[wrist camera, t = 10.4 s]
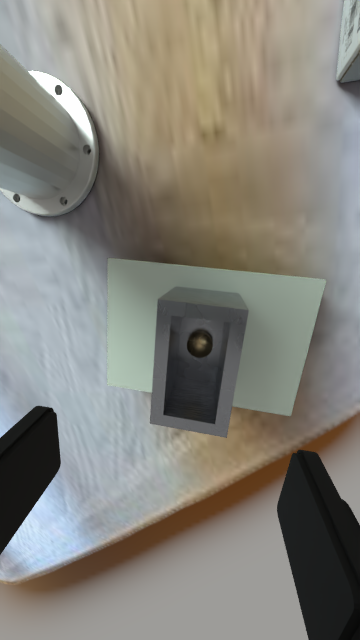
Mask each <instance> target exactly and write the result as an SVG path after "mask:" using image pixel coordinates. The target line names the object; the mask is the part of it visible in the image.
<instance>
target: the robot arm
mask: <svg viewBox="0 0 360 640" xmlns="http://www.w3.org/2000/svg"><path fill="white" fill-rule="evenodd" d="M90 152H91V153H90ZM98 164H99V147H98V139H97V134H96V131H95V127H94V123H93V121H92V119H91V117H90V115H89V113H88V110H87V109H86V107H85V106H84V104H83V103H82V102H81V100H80V99H79V98H78V97H77V95H76V94H75V93H74V92H73V91H72V90H71V89H70V88H69V87H68V86H67V85H66V84H65V83H64V82H62V81H61V80H60V79H58V78H56V77H54V76H52V75H50V74H47V73H44V72H40V71H27V70H26V69H25V68H24V67H23V66H22V65H21V64H20V63H19V62H18V61H17V60H16V59H15V58H14V57H13V56H12V55H11V54H10V53H9V52H8V51H7V50H6V49H5V48H4V47H3V46H2V45H1V44H0V190H1V192H2V193H3V194H4V196H6V197H7V198H8V199H9V200H10V201H11V202H12V203H13V204H15V205H16V206H18V207H19V208H21V209H22V210H25V211H27V212H30V213H32V214H36V215H41V216H51V217H52V216H59V215H63V214H65V213H68V212H70V211H72V210H73V209H74V208H76V207H77V206H79V205H80V204H81V202H82V201H83V200H84V199H85V198H86V197H87V195H88V193H89V192H90V190H91V188H92V186H93V183H94V181H95V178H96V174H97V169H98ZM67 201H68V202H67ZM60 464H61V460H60V449H59V437H58V426H57V415H56V413H55V412H54V411H53V409H52V408H49V407H43V406H36V407H35V408H33V409H32V410H31V411H30V412H29V413H28V414H27V415H25V416H24V417H23V418H22V419H21V420H20V421H19V422H18V423H16V424H15V425H14V426H13V427H12V428H11V429H10V430H9V431H7V432H6V433H5V434H4V435H3V436H2V437H1V438H0V554H1V553H2V552H3V550H4V549H5V547H6V546H7V544H8V543H9V541H10V540H11V539H12V537H13V536H14V534H15V533H16V531H17V530H18V528H19V527H20V526H21V524H22V523H23V521H24V520H25V518H26V517H27V515H28V514H29V513H30V511H31V510H32V508H33V507H34V505H35V504H36V502H37V501H38V500H39V498H40V497H41V495H42V494H43V492H44V491H45V489H46V488H47V487H48V485H49V484H50V482H51V481H52V479H53V478H54V477H55V475H56V474H57V472H58V470H59V468H60ZM277 512H278V518H279V522H280V526H281V530H282V534H283V538H284V542H285V546H286V550H287V554H288V558H289V562H290V566H291V570H292V574H293V578H294V582H295V586H296V590H297V594H298V598H299V602H300V606H301V610H302V615H303V618H304V623H305V626H306V631H307V635H308V638H309V640H360V525H359V523H358V521H357V519H356V518H355V516H354V514H353V512H352V510H351V508H350V507H349V505H348V504H347V503H346V502H345V501H344V500H342V499H341V498H340V496H339V494H338V492H337V490H336V488H335V486H334V484H333V482H332V480H331V478H330V476H329V475H328V473H327V471H326V469H325V467H324V465H323V463H322V461H321V459H320V457H319V456H318V454H317V453H315V452H310V451H304V450H298V451H297V454H296V453H293V454H292V457H291V460H290V464H289V467H288V470H287V474H286V477H285V481H284V484H283V488H282V491H281V494H280V498H279V501H278V505H277Z"/></svg>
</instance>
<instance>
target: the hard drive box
mask: <svg viewBox="0 0 360 640" xmlns="http://www.w3.org/2000/svg"><path fill="white" fill-rule="evenodd" d="M336 80H340V82H341V83H343V82H349V81H356V80H360V0H344V8H343V14H342V23H341V33H340V47H339V56H338V65H337V76H336Z"/></svg>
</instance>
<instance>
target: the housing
mask: <svg viewBox="0 0 360 640" xmlns="http://www.w3.org/2000/svg"><path fill="white" fill-rule="evenodd" d="M248 312H249V309H248V308H247V306H246V304H245V302H244V301H243V299H242V297H241V296H240V294H239V293H232V292H223V291H214V290H205V289H196V288H187V287H178V286H175V287H174V288H172V289H171V290H170V291H168V292H167V293H166V294H164V295H163V296H161V297H160V298H159V299H158V302H157V318H156V334H155V350H154V366H153V383H152V399H151V415H150V424H156V425H161V426H166V427H172V428H177V429H183V430H188V431H193V432H199V433H204V434H209V435H215V436H220V437H226V438H227V432H228V427H229V421H230V415H231V410H232V404H233V398H234V392H235V387H236V381H237V375H238V370H239V364H240V358H241V352H242V347H243V341H244V335H245V330H246V324H247V318H248Z"/></svg>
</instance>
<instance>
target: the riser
mask: <svg viewBox="0 0 360 640" xmlns="http://www.w3.org/2000/svg"><path fill="white" fill-rule="evenodd" d="M325 284H326V280H324V279H317V278H307V277H297V276H287V275H277V274H267V273H257V272H247V271H237V270H227V269H217V268H207V267H197V266H187V265H177V264H167V263H157V262H147V261H137V260H127V259H117V258H108V300H107V385H109V386H115V387H121V388H127V389H133V390H139V391H145V392H151V393H152V383H153V366H154V350H155V334H156V318H157V302H158V299H159V298H160V297H161V296H163V295H164V294H166V293H167V292H168V291H170V290H171V289H172V288H174V287H175V286H178V287H187V288H196V289H205V290H214V291H223V292H232V293H239V294H240V296H241V297H242V299H243V301H244V302H245V304H246V306H247V308H248V309H249V312H248V318H247V324H246V330H245V335H244V341H243V347H242V352H241V358H240V364H239V370H238V375H237V381H236V387H235V392H234V398H233V404H232V406H233V407H239V408H245V409H250V410H256V411H262V412H268V413H274V414H280V415H286V416H291V413H292V409H293V406H294V402H295V398H296V394H297V390H298V387H299V383H300V379H301V375H302V371H303V368H304V364H305V360H306V356H307V352H308V348H309V345H310V341H311V337H312V333H313V329H314V326H315V322H316V318H317V314H318V310H319V307H320V303H321V299H322V295H323V291H324V287H325Z"/></svg>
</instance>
